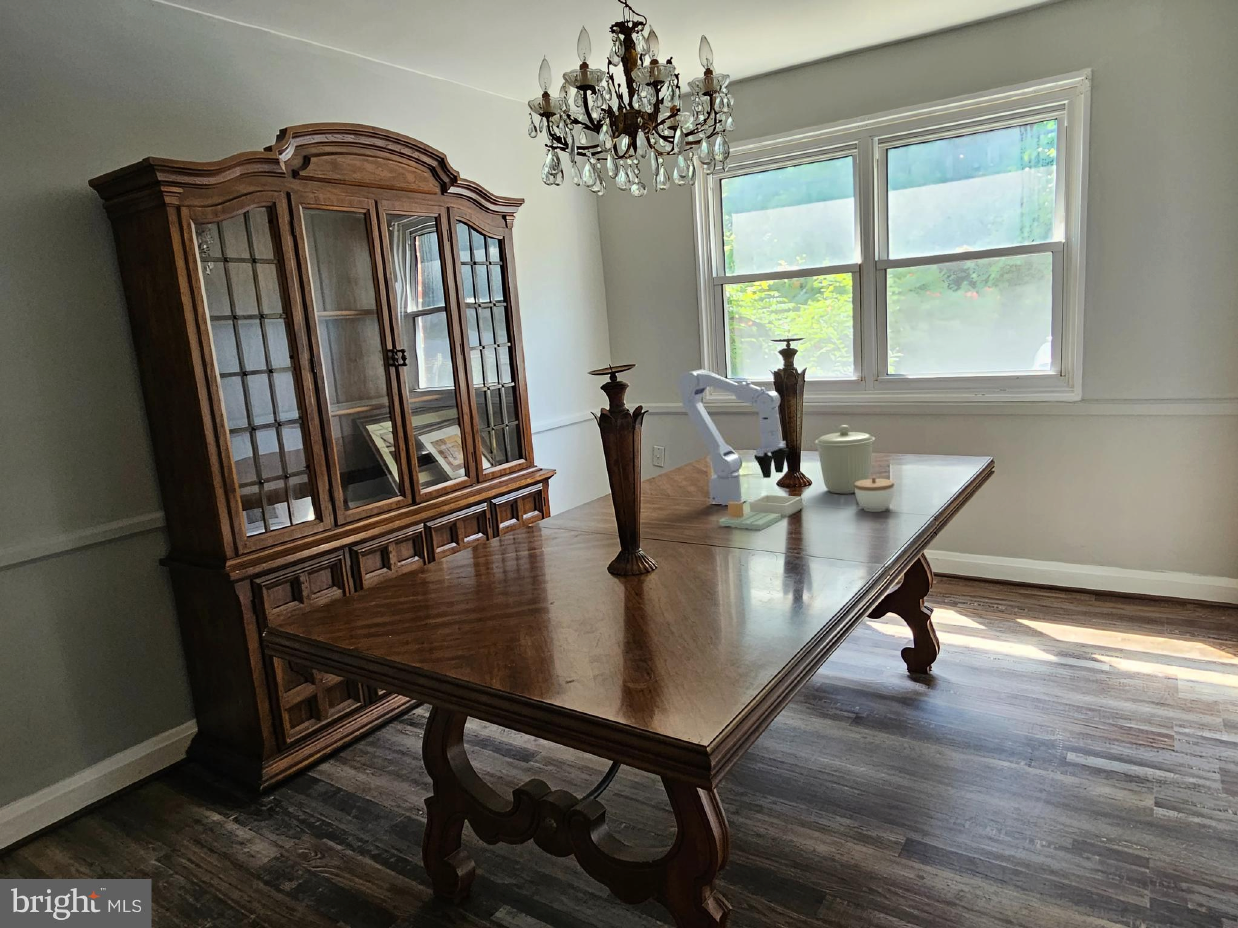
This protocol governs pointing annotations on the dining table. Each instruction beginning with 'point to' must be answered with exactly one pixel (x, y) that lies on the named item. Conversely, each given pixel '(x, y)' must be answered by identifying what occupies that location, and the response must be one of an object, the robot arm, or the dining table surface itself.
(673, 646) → the dining table surface
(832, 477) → the canister
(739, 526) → the lid
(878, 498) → the lidded jar
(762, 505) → the parts tub
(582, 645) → the dining table surface
